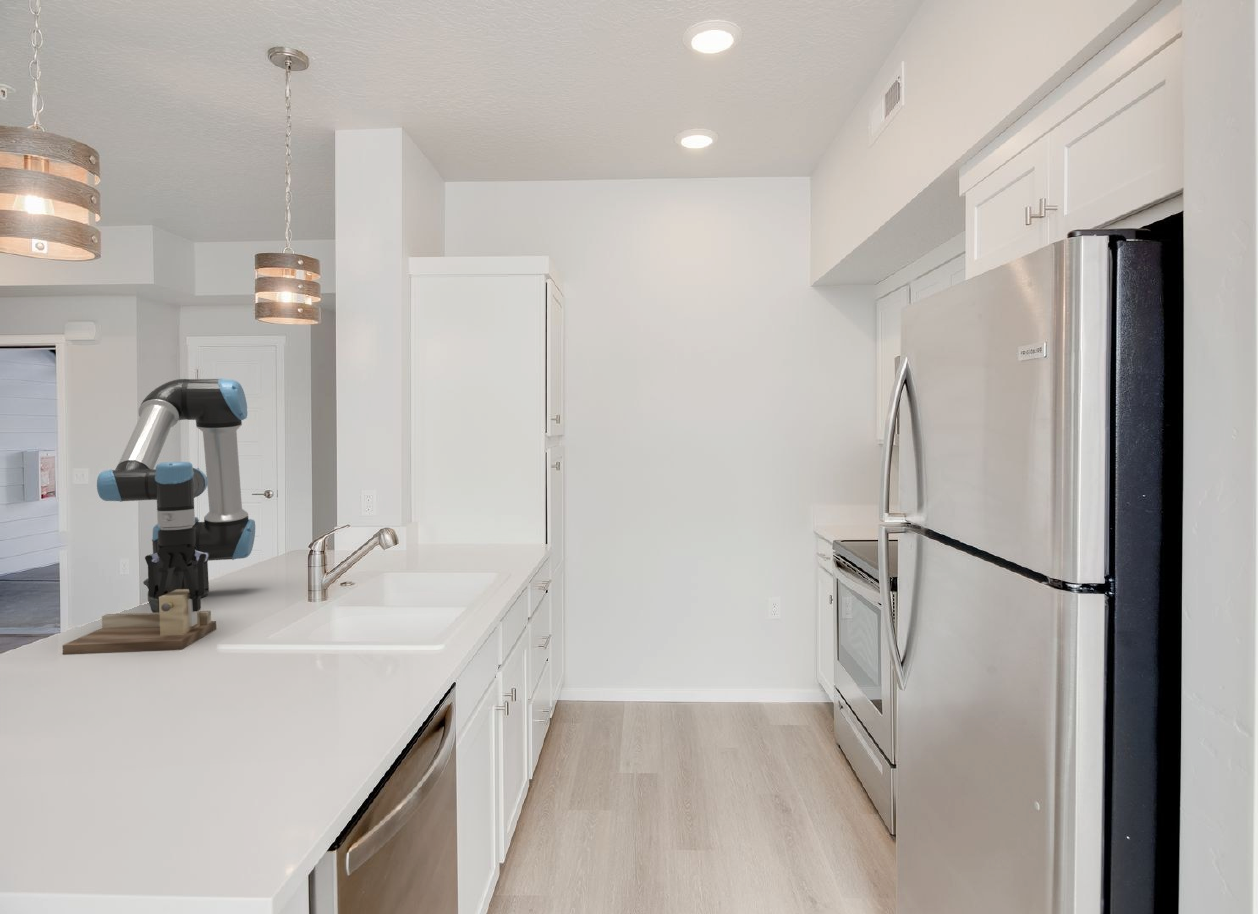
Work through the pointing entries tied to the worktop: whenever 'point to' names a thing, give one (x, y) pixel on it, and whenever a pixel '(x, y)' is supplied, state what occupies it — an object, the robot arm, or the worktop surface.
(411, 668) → the worktop surface
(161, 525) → the robot arm
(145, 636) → the walnut board
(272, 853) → the worktop surface
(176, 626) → the marking gauge
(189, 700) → the worktop surface
